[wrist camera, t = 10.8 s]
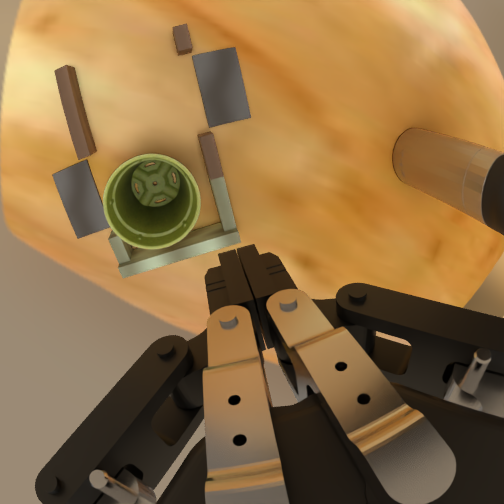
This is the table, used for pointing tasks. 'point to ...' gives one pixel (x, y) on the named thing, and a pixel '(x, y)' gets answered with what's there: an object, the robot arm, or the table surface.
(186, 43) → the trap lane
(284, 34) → the table surface
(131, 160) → the plant pot
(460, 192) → the robot arm
